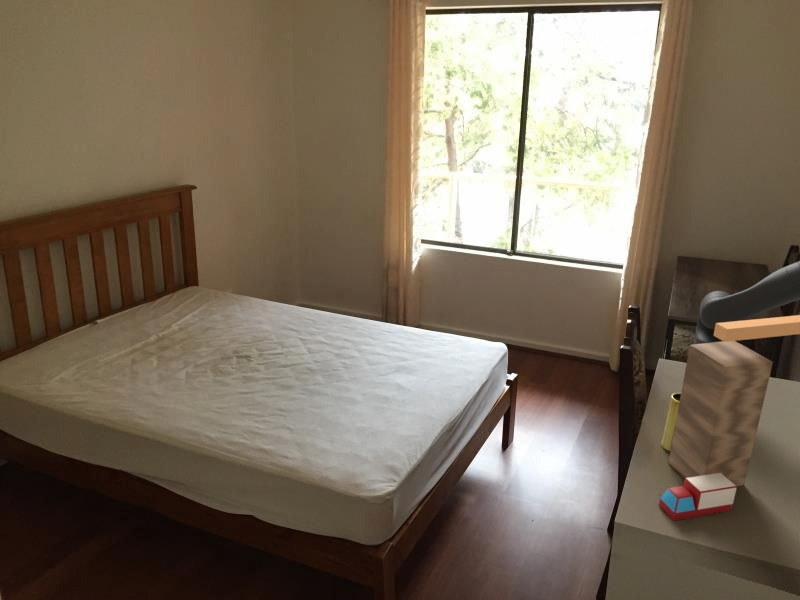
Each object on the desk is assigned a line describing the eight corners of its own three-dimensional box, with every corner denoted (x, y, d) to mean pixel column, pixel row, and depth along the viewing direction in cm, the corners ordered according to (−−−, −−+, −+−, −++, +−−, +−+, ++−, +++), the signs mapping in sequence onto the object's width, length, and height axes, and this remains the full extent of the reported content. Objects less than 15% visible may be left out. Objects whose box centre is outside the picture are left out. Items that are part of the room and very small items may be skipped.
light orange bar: (815, 325, 154) (818, 313, 153) (828, 331, 151) (831, 318, 150) (713, 335, 148) (715, 323, 147) (724, 341, 144) (727, 329, 143)
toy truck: (657, 505, 148) (662, 480, 146) (715, 496, 151) (720, 471, 149) (673, 521, 143) (678, 495, 141) (732, 511, 146) (737, 486, 144)
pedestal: (709, 456, 166) (734, 340, 155) (744, 485, 155) (772, 361, 144) (668, 463, 163) (690, 344, 152) (700, 492, 152) (726, 367, 141)
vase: (685, 442, 172) (694, 394, 167) (686, 455, 167) (696, 405, 162) (660, 438, 174) (669, 390, 169) (661, 450, 168) (669, 401, 164)
